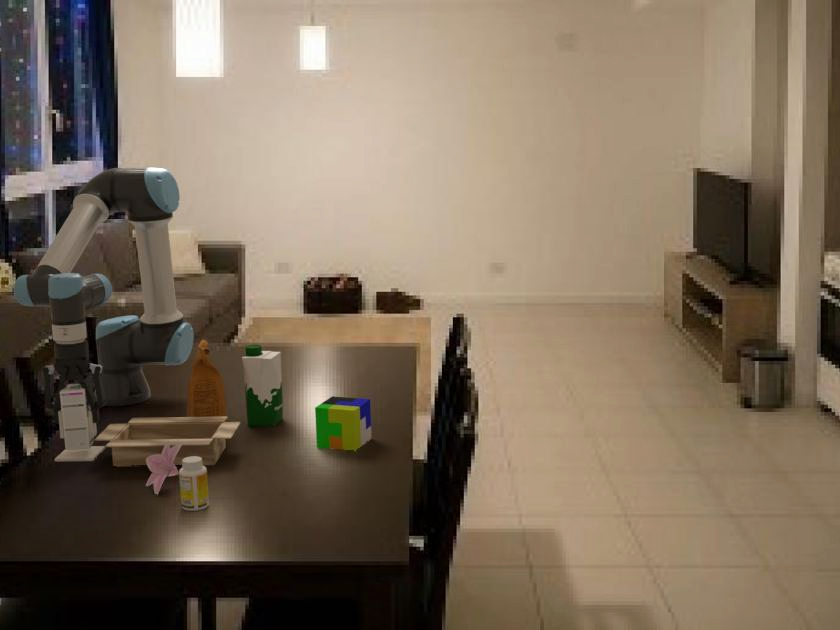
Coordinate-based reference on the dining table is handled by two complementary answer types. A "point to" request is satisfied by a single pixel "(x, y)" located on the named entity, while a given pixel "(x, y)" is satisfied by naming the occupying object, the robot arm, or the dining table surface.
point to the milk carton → (263, 386)
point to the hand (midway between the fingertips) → (78, 436)
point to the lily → (162, 466)
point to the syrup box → (75, 417)
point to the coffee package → (205, 387)
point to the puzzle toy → (343, 423)
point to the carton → (168, 438)
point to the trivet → (80, 454)
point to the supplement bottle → (193, 484)
